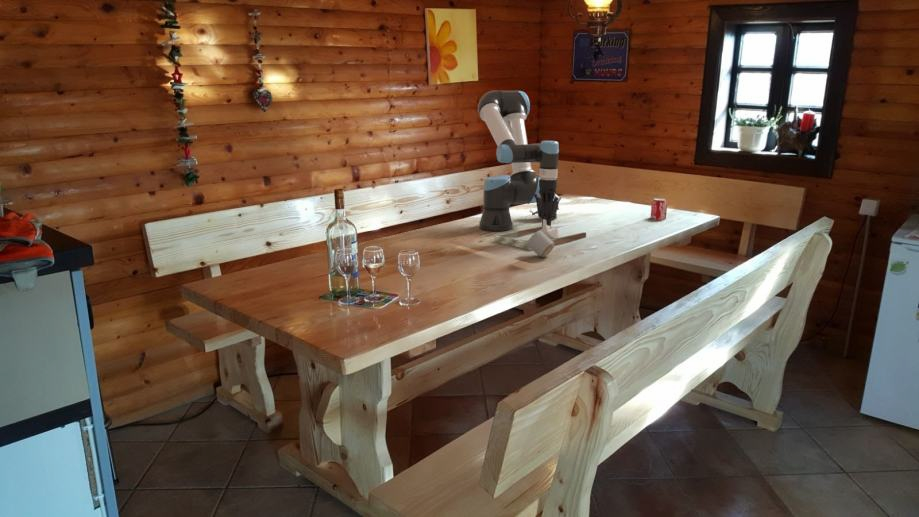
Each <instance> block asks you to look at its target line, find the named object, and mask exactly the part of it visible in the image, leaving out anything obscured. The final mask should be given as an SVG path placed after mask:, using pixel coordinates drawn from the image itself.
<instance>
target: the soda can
mask: <svg viewBox="0 0 919 517" xmlns="http://www.w3.org/2000/svg"><path fill="white" fill-rule="evenodd" d="M650 207H651V208H650V209H651V210H650V219H651V220H654V221H665V220H667V211H668V202H667V199H666V198H659V197H656V198H655V197H654V198H653V200H652V201H651V206H650Z"/></svg>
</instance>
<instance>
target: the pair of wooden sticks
mask: <svg viewBox="0 0 919 517" xmlns="http://www.w3.org/2000/svg"><path fill="white" fill-rule="evenodd" d="M542 228H543V226H542V225H540V226H537V227H531V228H526V229H522V230H516V231H512V232H507V233H500V234H496V235H493V242H494V243H497V244H503V245H507V246H512V247H517V248H521V249H525V250H528V251H533V250H532V249H530V248H529V247H528V246H527V242H528V241H524V240H519V239H517V238H521V237H525V236H528V235H533V234H534V233H536V232H537V231H539V230H541V229H542ZM586 238H587V232H585V231H584V232H580V233H574V234H571V235H570V234H569V235H565V236H561V237H560V236H559V238H556V239H551V240H552V242H553V243H554V247H555V246H559V245H563V244H568V243H572V242H575V241H578V240H582V239H586Z"/></svg>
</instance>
